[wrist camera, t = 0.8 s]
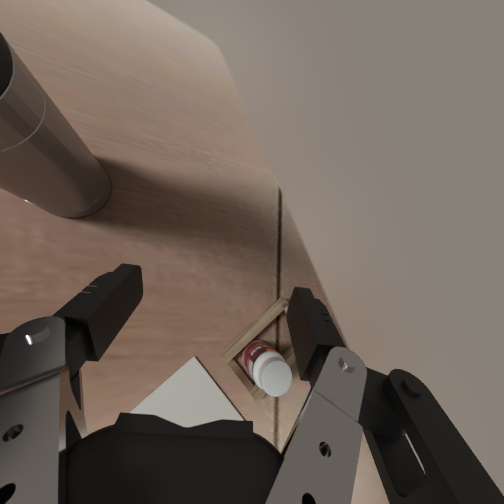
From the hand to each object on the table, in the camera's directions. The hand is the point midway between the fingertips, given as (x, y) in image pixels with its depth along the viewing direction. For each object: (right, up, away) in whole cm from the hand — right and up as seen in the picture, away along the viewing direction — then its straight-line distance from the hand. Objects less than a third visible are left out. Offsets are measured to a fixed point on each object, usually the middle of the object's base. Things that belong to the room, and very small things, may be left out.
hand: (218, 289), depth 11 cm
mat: (-7, -21, +18) cm, 28 cm away
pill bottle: (+2, -14, +22) cm, 26 cm away
